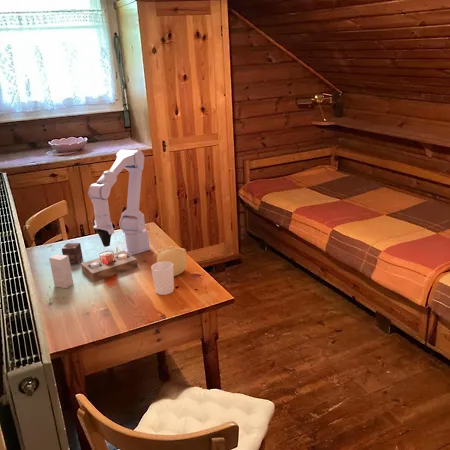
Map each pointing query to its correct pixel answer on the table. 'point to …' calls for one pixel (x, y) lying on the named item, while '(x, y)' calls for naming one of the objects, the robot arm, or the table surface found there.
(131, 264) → the light brown rack
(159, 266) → the white cup
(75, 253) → the box
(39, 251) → the table surface
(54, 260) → the skincare box
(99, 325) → the table surface
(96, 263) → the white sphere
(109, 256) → the salmon pink egg
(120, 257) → the cream plug
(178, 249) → the pale yellow rounded lump
